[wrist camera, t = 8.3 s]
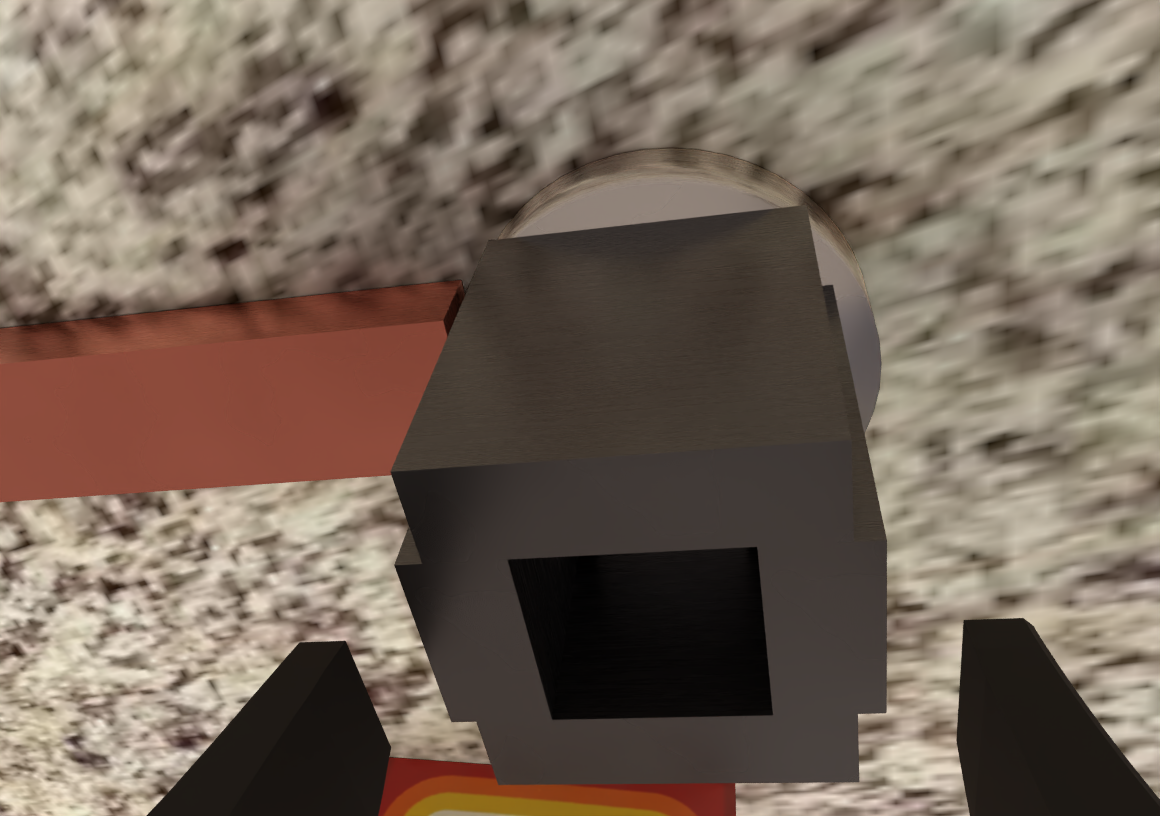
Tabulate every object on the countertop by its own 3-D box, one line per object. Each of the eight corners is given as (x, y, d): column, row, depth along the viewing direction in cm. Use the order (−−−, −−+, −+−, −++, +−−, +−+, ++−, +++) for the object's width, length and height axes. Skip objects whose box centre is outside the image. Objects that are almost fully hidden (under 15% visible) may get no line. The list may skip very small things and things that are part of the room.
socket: (839, 494, 18) (886, 781, 13) (535, 512, 19) (474, 785, 14) (830, 201, 15) (887, 437, 10) (467, 243, 16) (360, 473, 11)
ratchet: (871, 477, 20) (902, 628, 17) (18, 530, 23) (-95, 664, 20) (868, 121, 16) (908, 228, 13) (-158, 250, 19) (-334, 359, 16)
